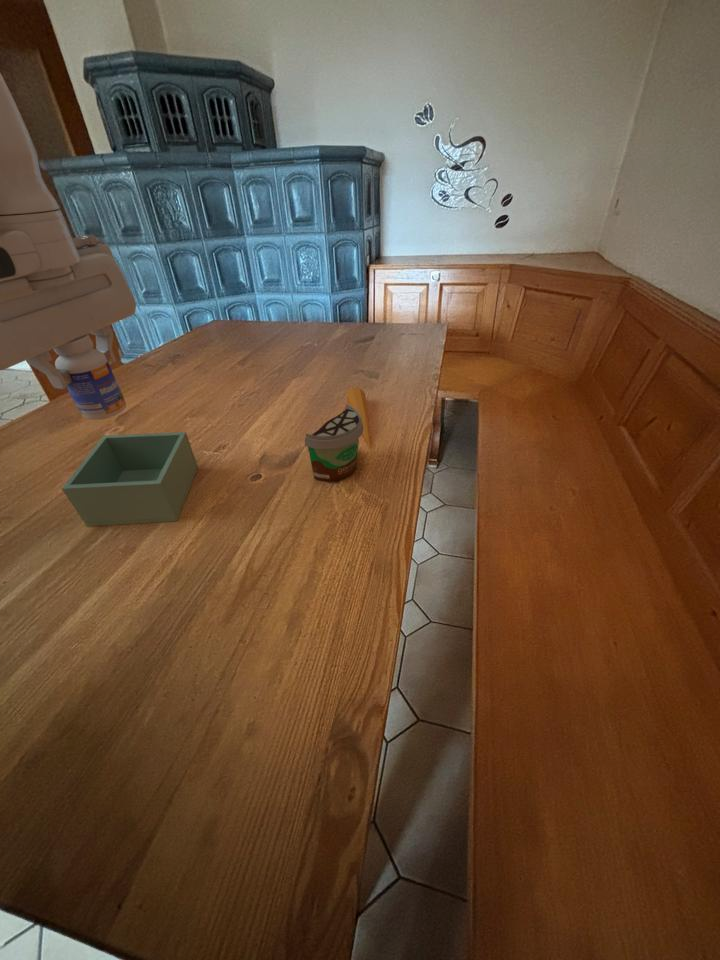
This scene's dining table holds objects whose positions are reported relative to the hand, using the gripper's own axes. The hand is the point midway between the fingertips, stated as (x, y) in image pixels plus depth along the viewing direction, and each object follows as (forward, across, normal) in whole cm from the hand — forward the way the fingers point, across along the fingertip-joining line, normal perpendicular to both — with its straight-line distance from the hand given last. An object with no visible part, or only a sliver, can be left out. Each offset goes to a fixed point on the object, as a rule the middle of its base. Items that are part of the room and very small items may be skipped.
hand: (86, 374), depth 48 cm
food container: (+23, -17, +28) cm, 40 cm away
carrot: (+23, -34, +26) cm, 48 cm away
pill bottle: (+5, 0, 0) cm, 5 cm away
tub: (+23, -2, -2) cm, 23 cm away
